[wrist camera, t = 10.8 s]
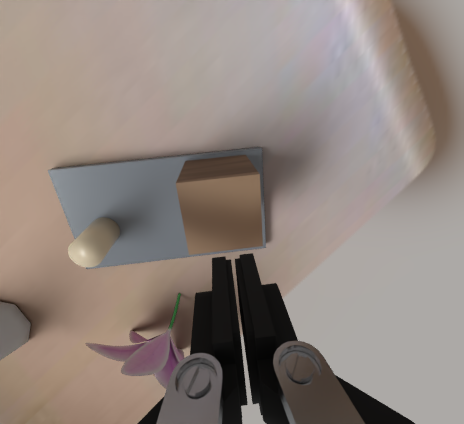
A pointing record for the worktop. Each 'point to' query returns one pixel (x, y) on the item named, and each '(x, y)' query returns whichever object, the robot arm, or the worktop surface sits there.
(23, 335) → the flask
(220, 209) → the wooden grain cube
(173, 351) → the lily
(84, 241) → the slate stand
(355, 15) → the worktop surface
